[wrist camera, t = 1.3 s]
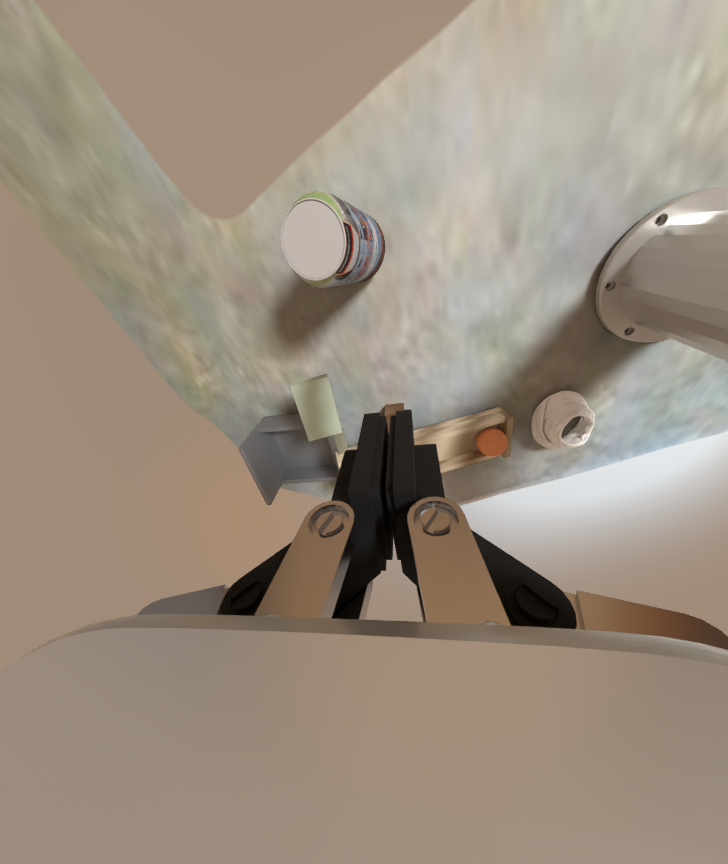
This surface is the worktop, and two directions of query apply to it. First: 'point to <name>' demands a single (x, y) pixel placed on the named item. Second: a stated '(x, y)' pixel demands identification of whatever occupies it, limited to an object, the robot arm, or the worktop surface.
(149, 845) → the robot arm
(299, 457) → the bin
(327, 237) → the beverage can
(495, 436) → the ball
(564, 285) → the worktop surface
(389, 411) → the fulcrum
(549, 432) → the grey hollow rounded piece
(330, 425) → the lever
